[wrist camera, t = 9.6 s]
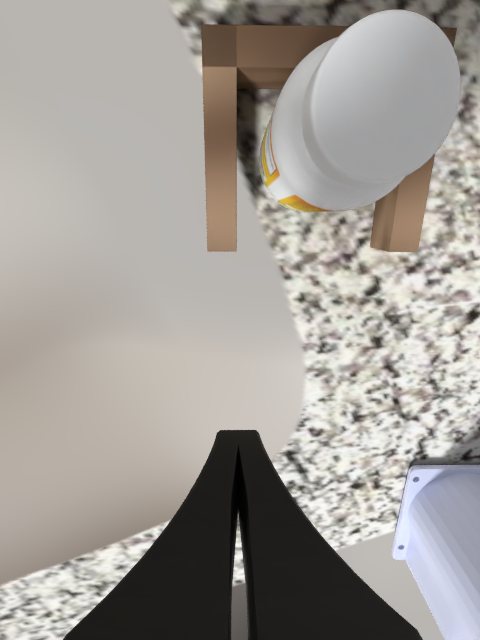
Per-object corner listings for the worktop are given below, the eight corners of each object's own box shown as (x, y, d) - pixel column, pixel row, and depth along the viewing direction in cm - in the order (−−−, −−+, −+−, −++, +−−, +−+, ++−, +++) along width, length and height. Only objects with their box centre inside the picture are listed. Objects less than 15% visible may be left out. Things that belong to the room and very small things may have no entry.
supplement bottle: (375, 166, 18) (527, 114, 9) (298, 232, 19) (360, 248, 10) (317, 79, 16) (423, -96, 7) (238, 155, 17) (242, 87, 8)
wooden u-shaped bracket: (394, 247, 19) (417, 251, 17) (210, 246, 19) (207, 251, 17) (424, 55, 16) (456, 28, 14) (206, 52, 16) (201, 24, 14)
